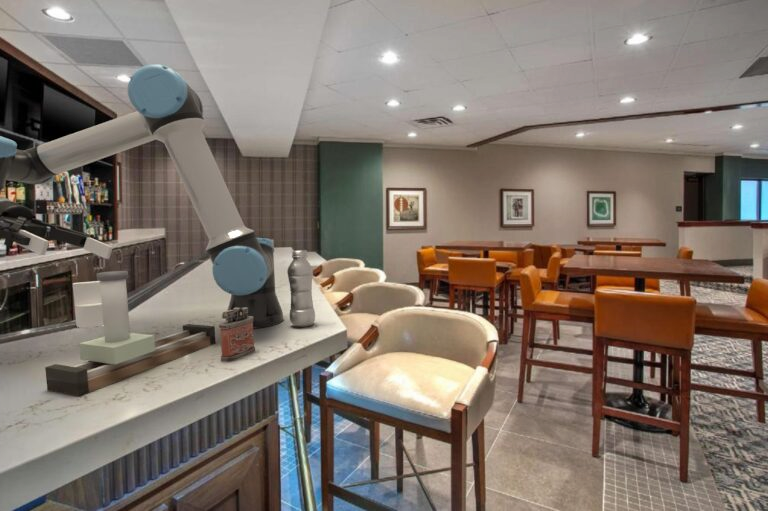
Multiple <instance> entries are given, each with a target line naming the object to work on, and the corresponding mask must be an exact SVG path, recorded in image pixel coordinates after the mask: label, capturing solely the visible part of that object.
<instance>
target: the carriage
mask: <svg viewBox="0 0 768 511" xmlns="http://www.w3.org/2000/svg"><path fill="white" fill-rule="evenodd" d="M128 278H129V272H128V270H114V271H113V270H112V271H103V272H101V271H100V272H98V273H96V281H100V289H101V301H102V313H103V325H104V326H103V334H104V336H102V337H101V336H100V337H98V338H94V339H91V340H88V341H83V342H80V343H79V352H80V353H79V354H80V361H87V362H88V361H94V362H101V363H108V364H118V363H121V362H124V361H127V360H130V359H133V358H136V357H138V356H141V355H144V354H147V353H150V352H153V351H155V340H156V339H155V334H143V333H136V332H135V333H134V332H131V330H130V329H131V328H130V320H129V319H130V317H129V302H128V291H127V279H128Z"/></svg>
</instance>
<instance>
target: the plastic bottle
mask: <svg viewBox="0 0 768 511" xmlns="http://www.w3.org/2000/svg"><path fill="white" fill-rule="evenodd" d="M291 254H292V256H291V258H292V261H291V262H290V264H289V265H288V268H287V271H286V272H287V273H286V274H287V278H288V283H289V291H290V310H289V321H290V324H291V325H292V326H294V327H302V328H305V327H308V326H312V325H313V324H314V323H315V320H316V311H315V307H314V303H313V302H314V301H313V293H312V291H313V290H312V289H313V288H312V287H313V286H312V285H313V276H314V275H313V273H314V269H313V267H312V265H311V264H310V262H309V261H308V260H307V258H308V250H306V249H298V250H297V249H295V250H292V252H291Z"/></svg>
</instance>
